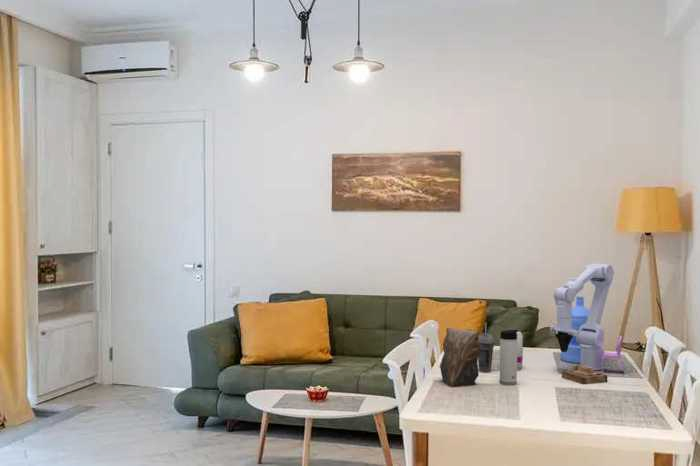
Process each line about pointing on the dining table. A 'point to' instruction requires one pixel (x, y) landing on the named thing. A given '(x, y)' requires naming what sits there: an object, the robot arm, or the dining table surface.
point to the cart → (583, 370)
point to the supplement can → (519, 350)
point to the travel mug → (508, 357)
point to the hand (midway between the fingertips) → (563, 351)
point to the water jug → (578, 319)
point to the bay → (585, 378)
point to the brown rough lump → (460, 357)
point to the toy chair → (614, 355)
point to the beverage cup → (485, 351)
